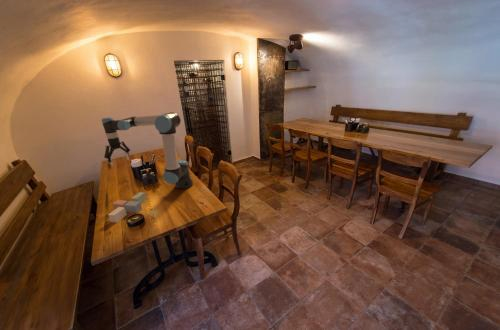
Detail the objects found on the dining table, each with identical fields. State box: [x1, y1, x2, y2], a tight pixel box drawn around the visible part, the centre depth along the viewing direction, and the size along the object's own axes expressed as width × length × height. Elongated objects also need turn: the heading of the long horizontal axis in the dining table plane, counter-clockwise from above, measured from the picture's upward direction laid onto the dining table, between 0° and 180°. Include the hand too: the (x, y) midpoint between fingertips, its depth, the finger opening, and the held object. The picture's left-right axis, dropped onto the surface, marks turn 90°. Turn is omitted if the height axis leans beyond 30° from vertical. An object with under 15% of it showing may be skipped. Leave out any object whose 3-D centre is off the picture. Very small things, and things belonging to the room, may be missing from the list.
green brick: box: [131, 191, 148, 204], centre depth 160 cm, size 5×9×6 cm, turn 167°
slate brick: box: [125, 200, 143, 214], centre depth 149 cm, size 9×5×6 cm, turn 77°
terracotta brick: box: [111, 199, 129, 211], centre depth 151 cm, size 9×5×6 cm, turn 77°
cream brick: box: [107, 207, 128, 224], centre depth 141 cm, size 5×9×6 cm, turn 167°
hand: (120, 162), depth 170 cm, fingers open, 13 cm apart
